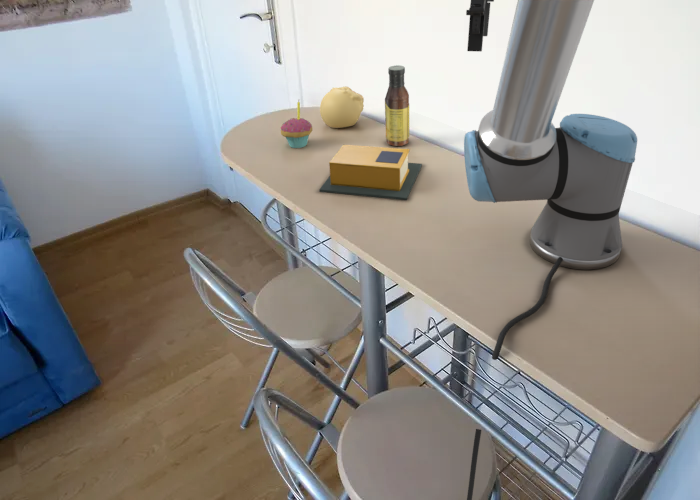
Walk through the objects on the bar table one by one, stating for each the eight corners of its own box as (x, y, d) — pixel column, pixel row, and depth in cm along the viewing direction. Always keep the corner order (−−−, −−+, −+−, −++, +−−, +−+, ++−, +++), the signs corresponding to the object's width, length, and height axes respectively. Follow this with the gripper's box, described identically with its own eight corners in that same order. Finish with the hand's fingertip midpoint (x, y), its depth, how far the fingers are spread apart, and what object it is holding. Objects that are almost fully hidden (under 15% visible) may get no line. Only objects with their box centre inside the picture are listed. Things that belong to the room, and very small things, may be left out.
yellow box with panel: (330, 184, 119) (329, 162, 116) (344, 165, 127) (343, 144, 124) (399, 191, 115) (399, 167, 112) (409, 171, 123) (409, 148, 120)
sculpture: (370, 123, 153) (369, 86, 147) (339, 135, 146) (337, 96, 140) (343, 115, 160) (341, 79, 154) (313, 125, 153) (310, 88, 147)
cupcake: (296, 137, 146) (292, 94, 140) (320, 142, 142) (316, 98, 135) (276, 147, 141) (270, 103, 134) (300, 153, 136) (295, 108, 130)
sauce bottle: (393, 137, 143) (393, 62, 132) (413, 141, 140) (415, 64, 129) (380, 145, 138) (379, 68, 128) (401, 149, 135) (401, 71, 124)
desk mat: (406, 200, 112) (406, 197, 112) (319, 191, 118) (319, 189, 117) (421, 165, 126) (422, 163, 126) (343, 159, 132) (343, 157, 131)
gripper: (505, -78, 84) (492, 58, 96) (512, -83, 104) (500, 30, 116) (458, -76, 86) (451, 57, 98) (473, -81, 106) (466, 30, 118)
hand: (477, 43), depth 107 cm, fingers open, 13 cm apart
